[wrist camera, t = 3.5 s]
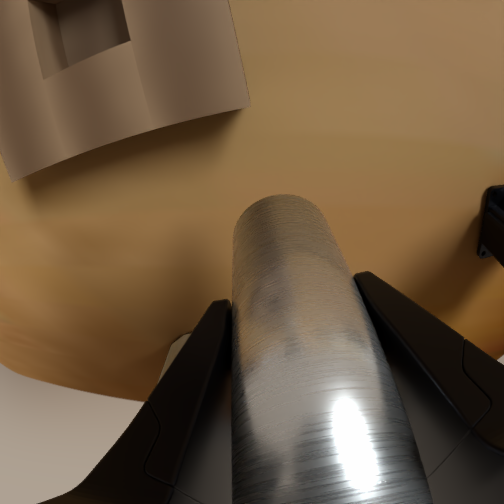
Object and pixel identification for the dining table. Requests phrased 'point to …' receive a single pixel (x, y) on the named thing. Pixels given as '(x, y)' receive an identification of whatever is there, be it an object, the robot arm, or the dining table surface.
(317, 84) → the dining table surface
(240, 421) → the pin
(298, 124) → the dining table surface
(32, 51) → the bore block
